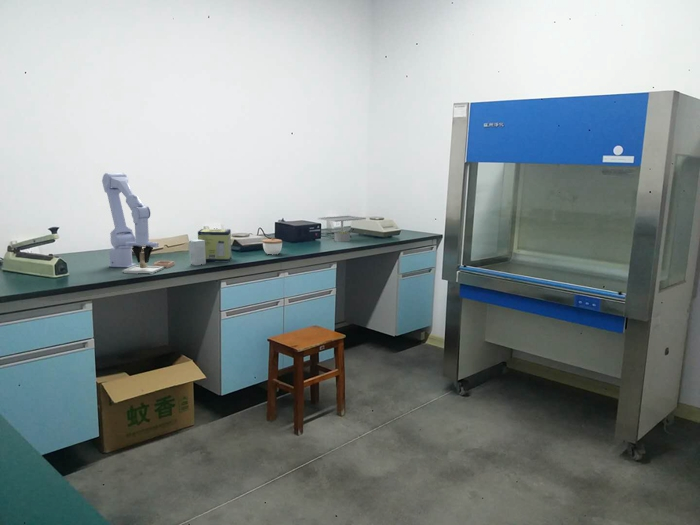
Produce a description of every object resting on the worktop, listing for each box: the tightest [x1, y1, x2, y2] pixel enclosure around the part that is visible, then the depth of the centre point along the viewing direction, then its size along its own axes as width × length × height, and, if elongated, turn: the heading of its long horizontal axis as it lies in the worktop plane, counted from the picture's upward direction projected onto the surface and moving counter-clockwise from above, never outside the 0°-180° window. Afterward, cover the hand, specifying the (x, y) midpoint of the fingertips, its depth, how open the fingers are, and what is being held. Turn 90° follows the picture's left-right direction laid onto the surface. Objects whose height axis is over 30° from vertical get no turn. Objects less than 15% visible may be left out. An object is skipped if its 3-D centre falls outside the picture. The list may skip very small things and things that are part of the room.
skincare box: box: [189, 239, 207, 266], centre depth 276 cm, size 6×4×12 cm
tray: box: [121, 264, 164, 274], centre depth 258 cm, size 14×12×1 cm
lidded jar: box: [262, 236, 283, 256], centre depth 310 cm, size 11×11×9 cm
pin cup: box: [152, 260, 176, 269], centre depth 270 cm, size 7×7×2 cm
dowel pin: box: [139, 251, 148, 268], centre depth 257 cm, size 3×3×7 cm
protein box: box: [197, 228, 232, 263], centre depth 288 cm, size 10×16×16 cm
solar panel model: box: [317, 215, 367, 243], centre depth 367 cm, size 28×17×15 cm, turn 133°
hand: (143, 262), depth 257 cm, fingers closed on dowel pin, 3 cm apart
